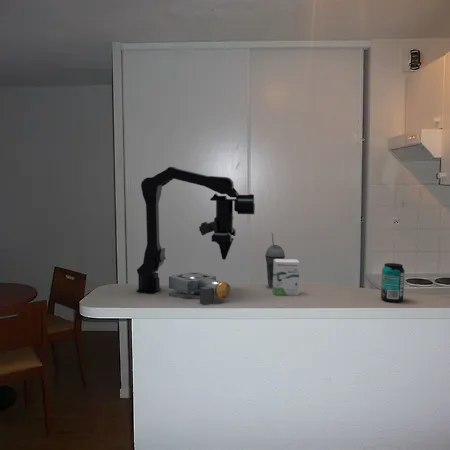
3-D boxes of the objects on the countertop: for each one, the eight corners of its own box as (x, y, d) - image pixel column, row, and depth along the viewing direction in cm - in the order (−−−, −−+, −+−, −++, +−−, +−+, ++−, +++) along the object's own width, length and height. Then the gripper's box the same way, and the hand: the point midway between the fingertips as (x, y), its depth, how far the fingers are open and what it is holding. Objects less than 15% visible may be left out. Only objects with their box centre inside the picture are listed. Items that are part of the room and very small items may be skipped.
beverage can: (396, 297, 170) (398, 262, 168) (407, 302, 163) (409, 266, 162) (377, 298, 168) (378, 262, 167) (387, 303, 162) (388, 266, 160)
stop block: (199, 303, 160) (199, 287, 160) (207, 301, 162) (207, 286, 161) (205, 304, 158) (205, 289, 157) (212, 303, 160) (212, 288, 159)
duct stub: (169, 295, 169) (169, 278, 168) (183, 288, 180) (183, 271, 179) (201, 299, 165) (202, 281, 164) (214, 291, 176) (215, 274, 175)
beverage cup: (283, 289, 179) (284, 234, 177) (263, 288, 180) (264, 233, 178) (285, 285, 186) (286, 232, 184) (265, 284, 187) (266, 231, 185)
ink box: (274, 295, 171) (274, 261, 170) (272, 291, 176) (272, 258, 175) (299, 295, 171) (300, 261, 170) (296, 291, 176) (297, 258, 175)
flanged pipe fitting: (167, 289, 173) (167, 273, 172) (195, 284, 181) (195, 269, 180) (209, 302, 156) (209, 285, 156) (237, 295, 165) (238, 279, 164)
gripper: (205, 211, 180) (205, 254, 182) (196, 216, 162) (196, 263, 163) (236, 212, 179) (235, 255, 180) (230, 216, 160) (230, 264, 162)
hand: (224, 259), depth 172 cm, fingers closed
